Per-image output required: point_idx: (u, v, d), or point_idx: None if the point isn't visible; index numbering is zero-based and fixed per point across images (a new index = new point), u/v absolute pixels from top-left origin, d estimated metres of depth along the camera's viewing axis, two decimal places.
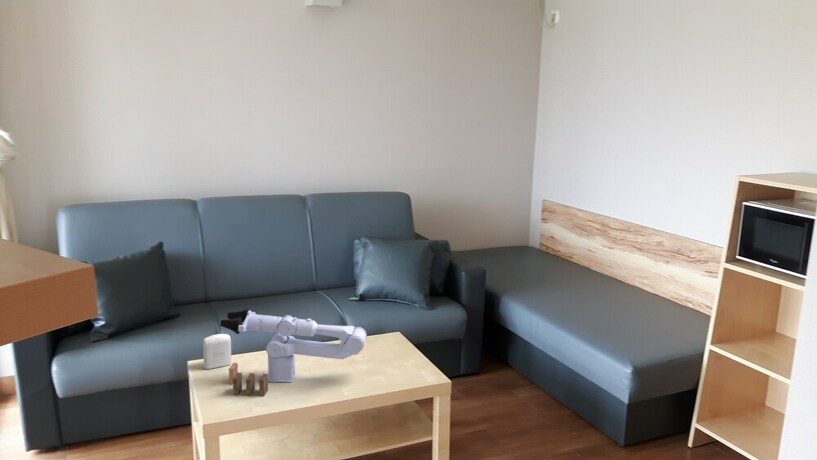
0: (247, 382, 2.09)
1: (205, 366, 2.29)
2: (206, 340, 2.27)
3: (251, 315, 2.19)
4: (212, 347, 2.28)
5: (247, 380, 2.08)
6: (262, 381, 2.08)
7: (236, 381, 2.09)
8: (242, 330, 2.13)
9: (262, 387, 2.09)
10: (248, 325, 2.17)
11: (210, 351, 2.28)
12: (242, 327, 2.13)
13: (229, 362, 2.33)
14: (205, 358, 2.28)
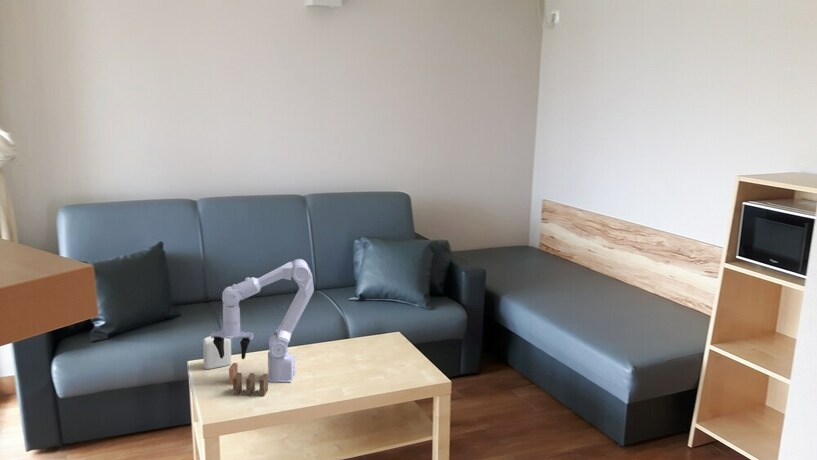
0: (247, 382, 2.09)
1: (205, 366, 2.29)
2: (206, 340, 2.27)
3: (231, 334, 2.14)
4: (212, 347, 2.28)
5: (247, 380, 2.08)
6: (262, 381, 2.08)
7: (237, 381, 2.09)
8: None
9: (262, 387, 2.09)
10: (240, 332, 2.17)
11: (210, 351, 2.28)
12: (252, 335, 2.16)
13: (229, 362, 2.33)
14: (205, 358, 2.28)
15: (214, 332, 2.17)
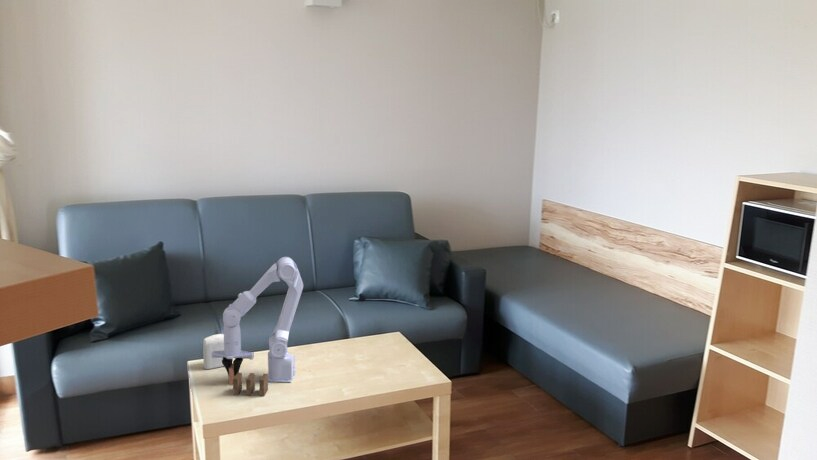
0: (247, 382, 2.09)
1: (205, 367, 2.29)
2: (206, 340, 2.27)
3: (232, 354, 2.15)
4: (212, 347, 2.28)
5: (247, 380, 2.08)
6: (262, 381, 2.08)
7: (237, 381, 2.09)
8: (253, 354, 2.18)
9: (262, 387, 2.09)
10: (240, 351, 2.18)
11: (210, 351, 2.28)
12: (252, 355, 2.17)
13: None
14: (205, 358, 2.28)
15: (215, 352, 2.18)
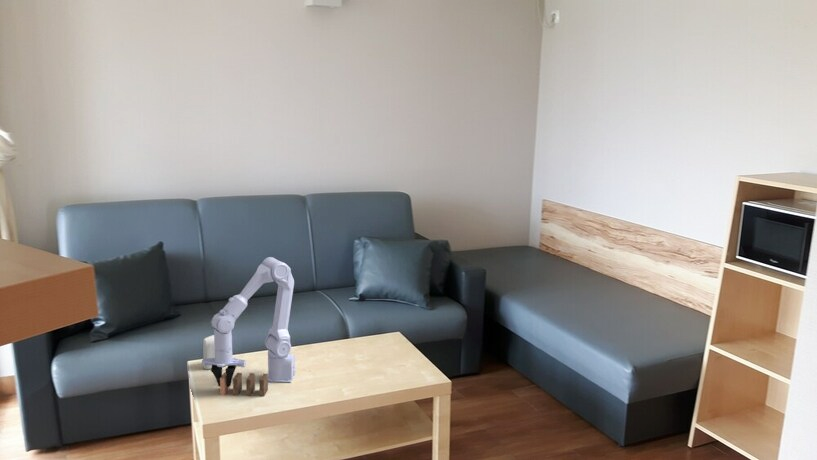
0: (247, 382, 2.09)
1: (205, 366, 2.29)
2: (206, 340, 2.27)
3: (223, 361, 2.07)
4: (212, 347, 2.28)
5: (247, 380, 2.08)
6: (262, 381, 2.08)
7: (237, 381, 2.09)
8: (245, 361, 2.10)
9: (262, 387, 2.09)
10: (232, 359, 2.10)
11: (210, 351, 2.28)
12: (244, 363, 2.09)
13: None
14: None
15: (205, 359, 2.10)
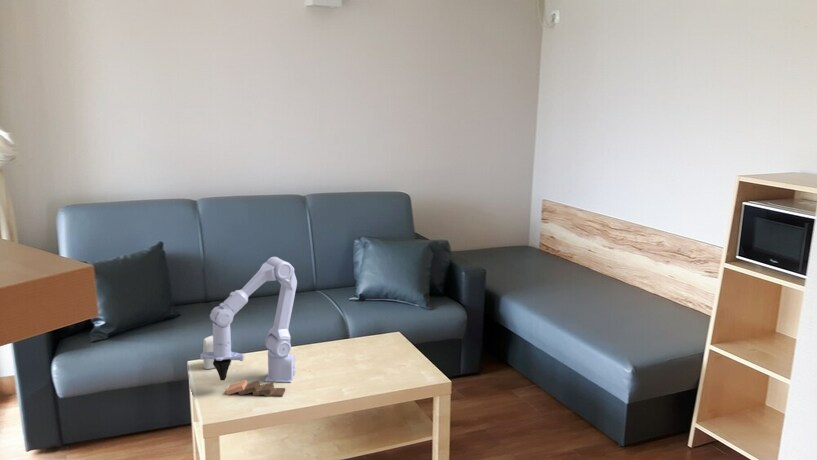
0: (266, 390, 2.09)
1: (205, 367, 2.29)
2: (206, 340, 2.27)
3: (221, 355, 2.07)
4: (212, 347, 2.28)
5: (268, 390, 2.09)
6: None
7: (253, 391, 2.09)
8: None
9: None
10: (230, 353, 2.10)
11: (210, 351, 2.28)
12: (243, 356, 2.09)
13: None
14: None
15: (204, 353, 2.10)
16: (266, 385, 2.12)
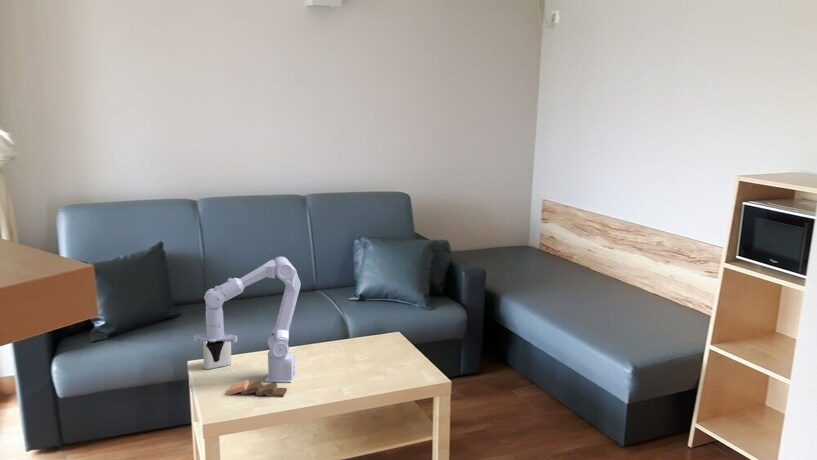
0: (269, 390, 2.09)
1: (205, 366, 2.29)
2: None
3: (214, 336, 2.10)
4: None
5: (271, 389, 2.09)
6: None
7: (255, 391, 2.09)
8: (236, 337, 2.13)
9: None
10: (223, 334, 2.13)
11: None
12: (235, 338, 2.12)
13: (229, 362, 2.33)
14: (205, 358, 2.28)
15: (197, 335, 2.13)
16: (269, 385, 2.12)
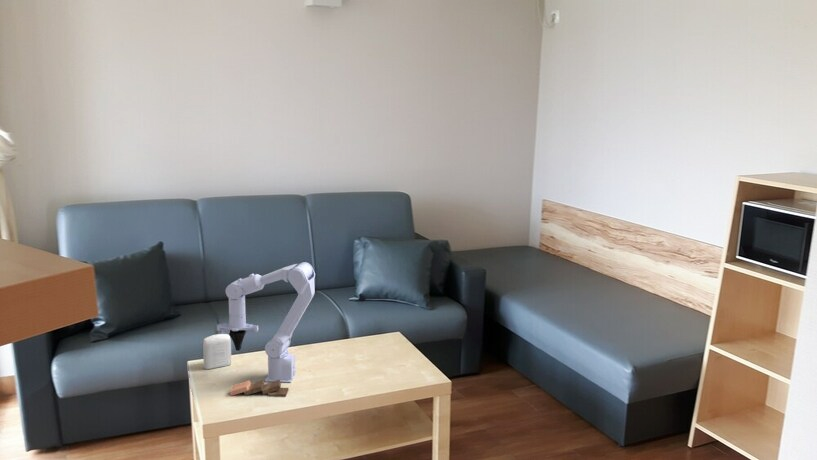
0: (276, 387, 2.10)
1: (205, 367, 2.29)
2: (206, 340, 2.27)
3: (237, 326, 2.20)
4: (212, 347, 2.28)
5: (278, 386, 2.10)
6: None
7: None
8: None
9: None
10: (245, 324, 2.23)
11: (210, 351, 2.28)
12: (257, 328, 2.22)
13: (229, 362, 2.33)
14: (205, 358, 2.28)
15: (220, 325, 2.23)
16: (273, 382, 2.14)
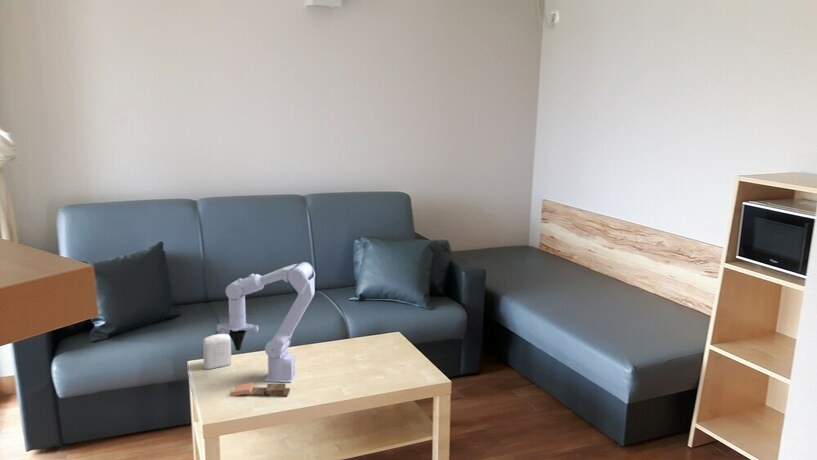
0: (280, 391, 2.09)
1: (205, 366, 2.29)
2: (206, 340, 2.27)
3: (237, 326, 2.20)
4: (212, 347, 2.28)
5: (282, 391, 2.09)
6: None
7: None
8: None
9: None
10: (245, 324, 2.23)
11: (210, 351, 2.28)
12: (257, 328, 2.22)
13: (229, 362, 2.33)
14: (205, 358, 2.28)
15: (220, 325, 2.23)
16: (279, 385, 2.13)
